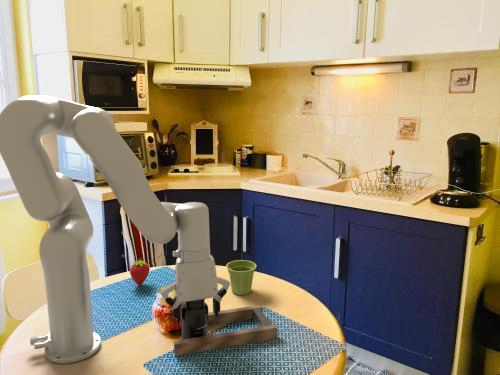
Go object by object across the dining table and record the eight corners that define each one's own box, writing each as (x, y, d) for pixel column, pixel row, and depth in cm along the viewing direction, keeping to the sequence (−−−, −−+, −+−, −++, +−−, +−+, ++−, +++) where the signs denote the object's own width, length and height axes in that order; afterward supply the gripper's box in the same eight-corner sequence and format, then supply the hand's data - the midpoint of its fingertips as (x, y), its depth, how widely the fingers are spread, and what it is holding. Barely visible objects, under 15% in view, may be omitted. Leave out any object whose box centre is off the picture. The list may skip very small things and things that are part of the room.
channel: (175, 355, 101) (174, 344, 100) (168, 328, 112) (167, 318, 111) (277, 338, 109) (277, 327, 108) (260, 314, 120) (261, 304, 119)
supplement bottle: (203, 347, 104) (203, 302, 102) (177, 343, 106) (176, 299, 103) (211, 332, 111) (211, 289, 108) (186, 329, 112) (186, 287, 110)
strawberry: (153, 281, 141) (152, 252, 139) (145, 291, 133) (144, 261, 131) (135, 280, 141) (134, 251, 139) (127, 290, 134) (125, 260, 132)
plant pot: (228, 299, 129) (228, 272, 127) (224, 286, 138) (224, 260, 136) (258, 296, 131) (259, 270, 129) (252, 283, 140) (252, 259, 138)
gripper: (160, 263, 97) (164, 331, 101) (232, 254, 103) (234, 318, 106) (156, 252, 104) (160, 316, 108) (224, 244, 110) (226, 305, 113)
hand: (197, 317), depth 107 cm, fingers open, 9 cm apart
